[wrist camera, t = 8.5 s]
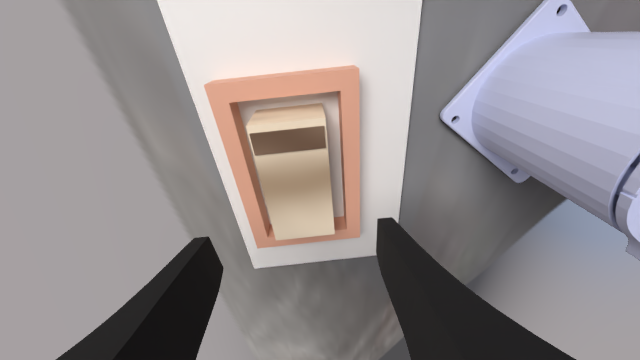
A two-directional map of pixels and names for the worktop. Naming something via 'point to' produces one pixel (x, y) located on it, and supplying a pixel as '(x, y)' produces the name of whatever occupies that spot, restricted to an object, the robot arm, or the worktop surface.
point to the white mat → (307, 54)
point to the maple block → (294, 169)
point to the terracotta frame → (240, 159)
